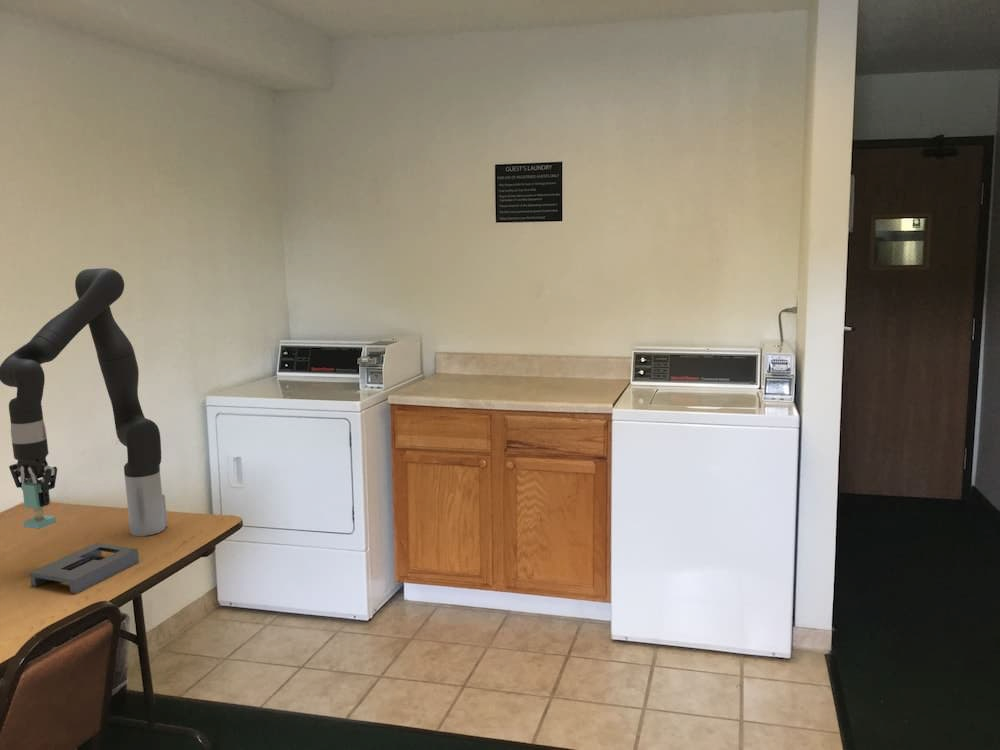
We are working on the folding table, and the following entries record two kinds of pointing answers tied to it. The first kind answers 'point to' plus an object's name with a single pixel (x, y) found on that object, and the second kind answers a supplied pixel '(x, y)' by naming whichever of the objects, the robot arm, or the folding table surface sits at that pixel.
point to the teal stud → (35, 507)
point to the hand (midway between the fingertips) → (37, 504)
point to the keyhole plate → (86, 566)
